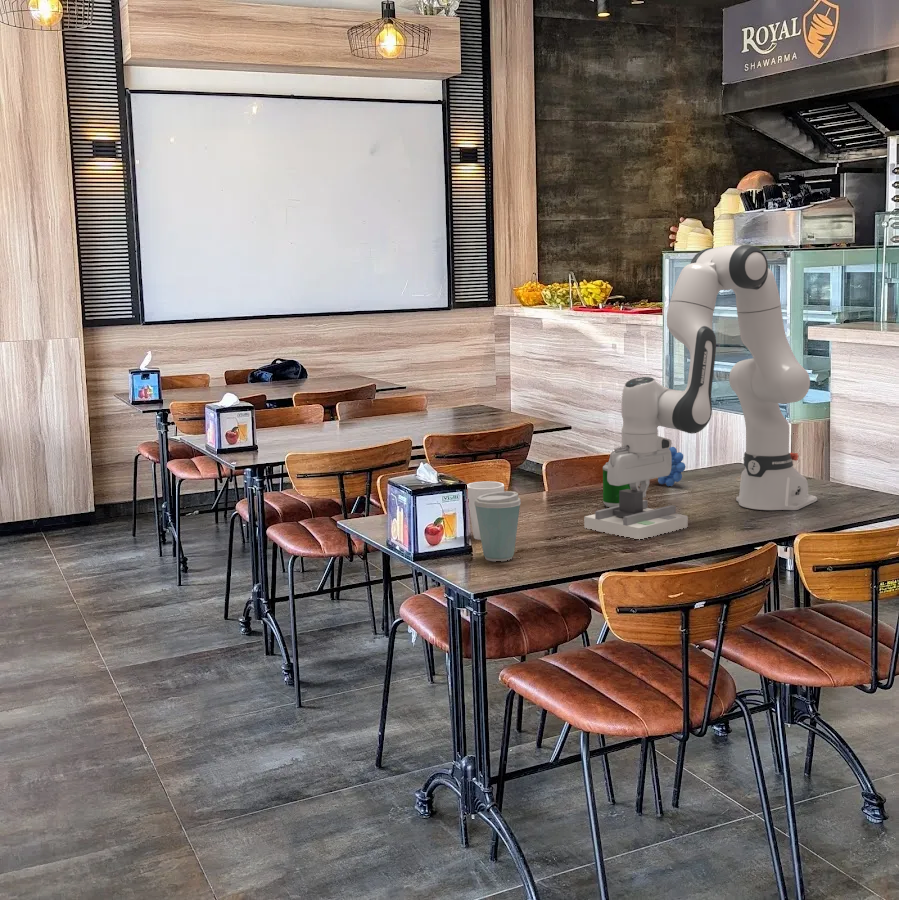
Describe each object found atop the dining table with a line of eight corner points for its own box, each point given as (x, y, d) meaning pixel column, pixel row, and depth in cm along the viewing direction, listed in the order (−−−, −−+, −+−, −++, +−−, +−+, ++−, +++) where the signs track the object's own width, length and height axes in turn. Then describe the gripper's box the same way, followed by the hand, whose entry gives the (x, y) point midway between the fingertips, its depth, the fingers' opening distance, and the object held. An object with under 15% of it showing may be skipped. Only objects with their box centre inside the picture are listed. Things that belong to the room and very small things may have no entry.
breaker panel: (632, 516, 289) (632, 497, 288) (687, 527, 275) (687, 507, 275) (584, 528, 278) (584, 508, 277) (639, 540, 264) (639, 520, 263)
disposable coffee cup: (476, 565, 247) (474, 499, 245) (474, 552, 258) (473, 489, 255) (523, 563, 247) (522, 498, 245) (520, 551, 258) (519, 488, 255)
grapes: (694, 487, 323) (694, 446, 321) (679, 490, 319) (679, 449, 317) (663, 481, 333) (664, 442, 331) (648, 485, 328) (648, 445, 326)
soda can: (630, 509, 297) (630, 465, 295) (602, 509, 299) (601, 465, 297) (631, 503, 304) (631, 460, 302) (604, 503, 306) (603, 460, 304)
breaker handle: (627, 511, 279) (627, 487, 278) (648, 516, 274) (648, 491, 273) (613, 515, 276) (613, 490, 275) (634, 519, 271) (634, 494, 270)
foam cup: (467, 532, 277) (466, 481, 275) (504, 531, 277) (503, 480, 275) (467, 542, 268) (465, 489, 266) (505, 541, 268) (504, 488, 265)
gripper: (620, 450, 265) (620, 506, 268) (676, 440, 278) (675, 494, 280) (601, 447, 270) (601, 502, 273) (656, 437, 283) (656, 490, 285)
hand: (639, 498), depth 277 cm, fingers closed
